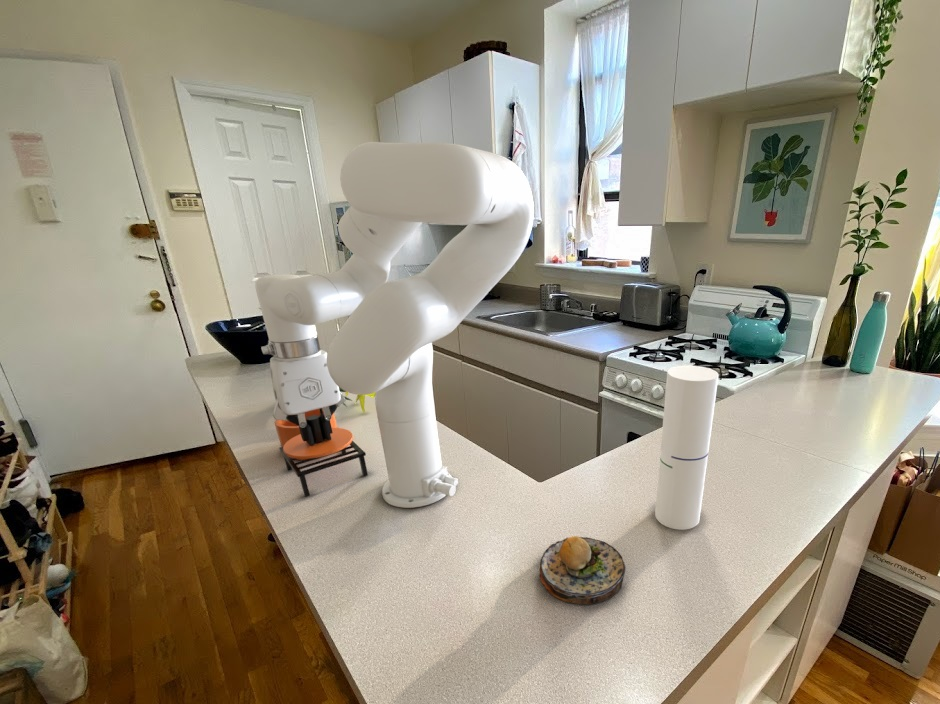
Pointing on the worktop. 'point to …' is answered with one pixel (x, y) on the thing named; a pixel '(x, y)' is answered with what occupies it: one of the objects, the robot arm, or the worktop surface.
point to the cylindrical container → (685, 444)
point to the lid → (317, 441)
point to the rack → (301, 474)
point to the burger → (582, 570)
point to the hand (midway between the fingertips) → (318, 439)
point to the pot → (295, 427)
